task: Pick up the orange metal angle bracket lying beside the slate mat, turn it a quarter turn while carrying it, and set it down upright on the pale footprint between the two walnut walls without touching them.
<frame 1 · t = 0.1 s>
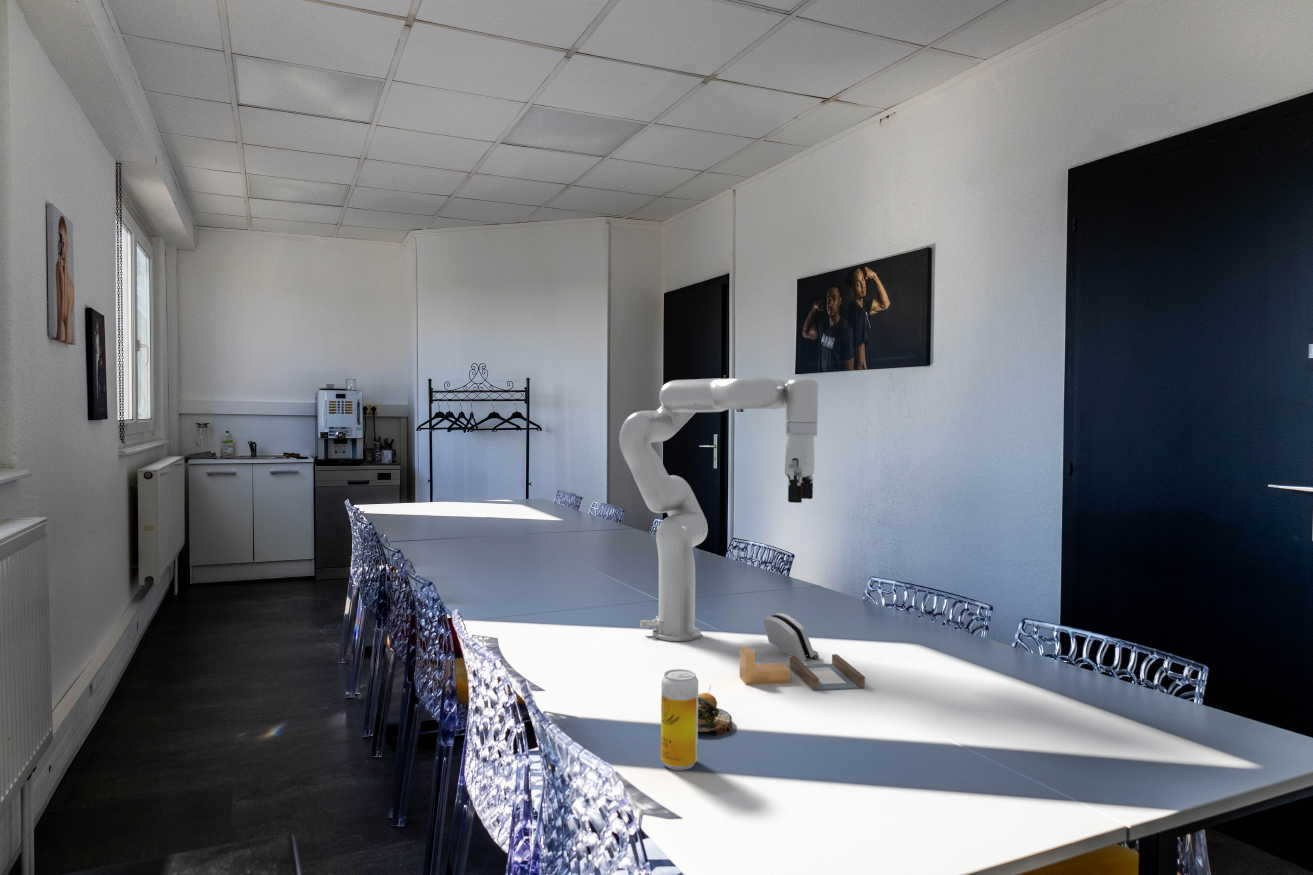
hand: (800, 500, 196), 37 cm above the table, tool pointing down, fingers open, 9 cm apart
grey slotted curved block: (788, 652, 199), on the table
bay mat: (825, 676, 179), on the table
beer can: (679, 764, 135), on the table
bracket: (764, 680, 177), on the table
burger: (700, 726, 151), on the table
bay walls: (825, 676, 179), on the table
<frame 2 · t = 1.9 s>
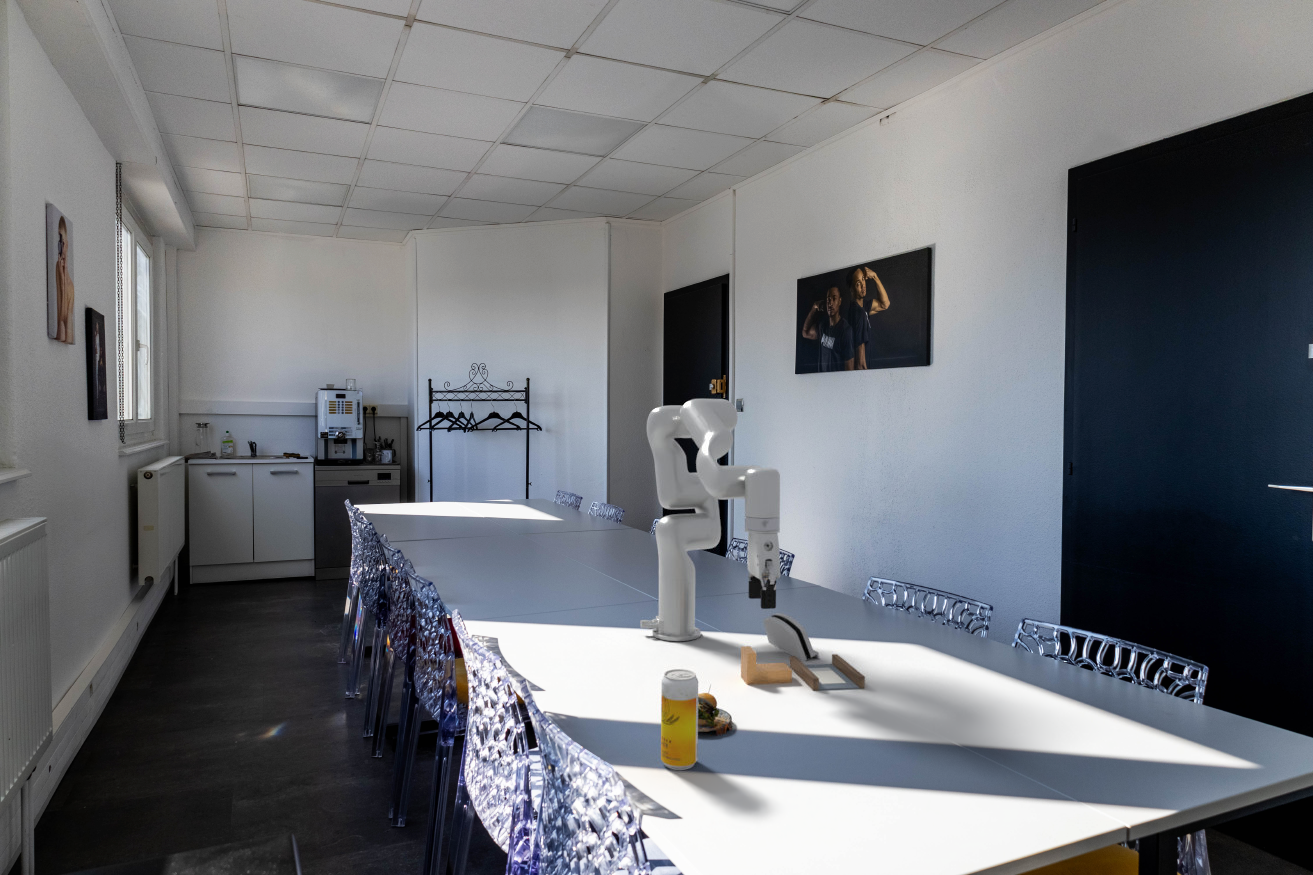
hand: (761, 603, 176), 17 cm above the table, tool pointing down, fingers open, 9 cm apart
nothing on the table moved.
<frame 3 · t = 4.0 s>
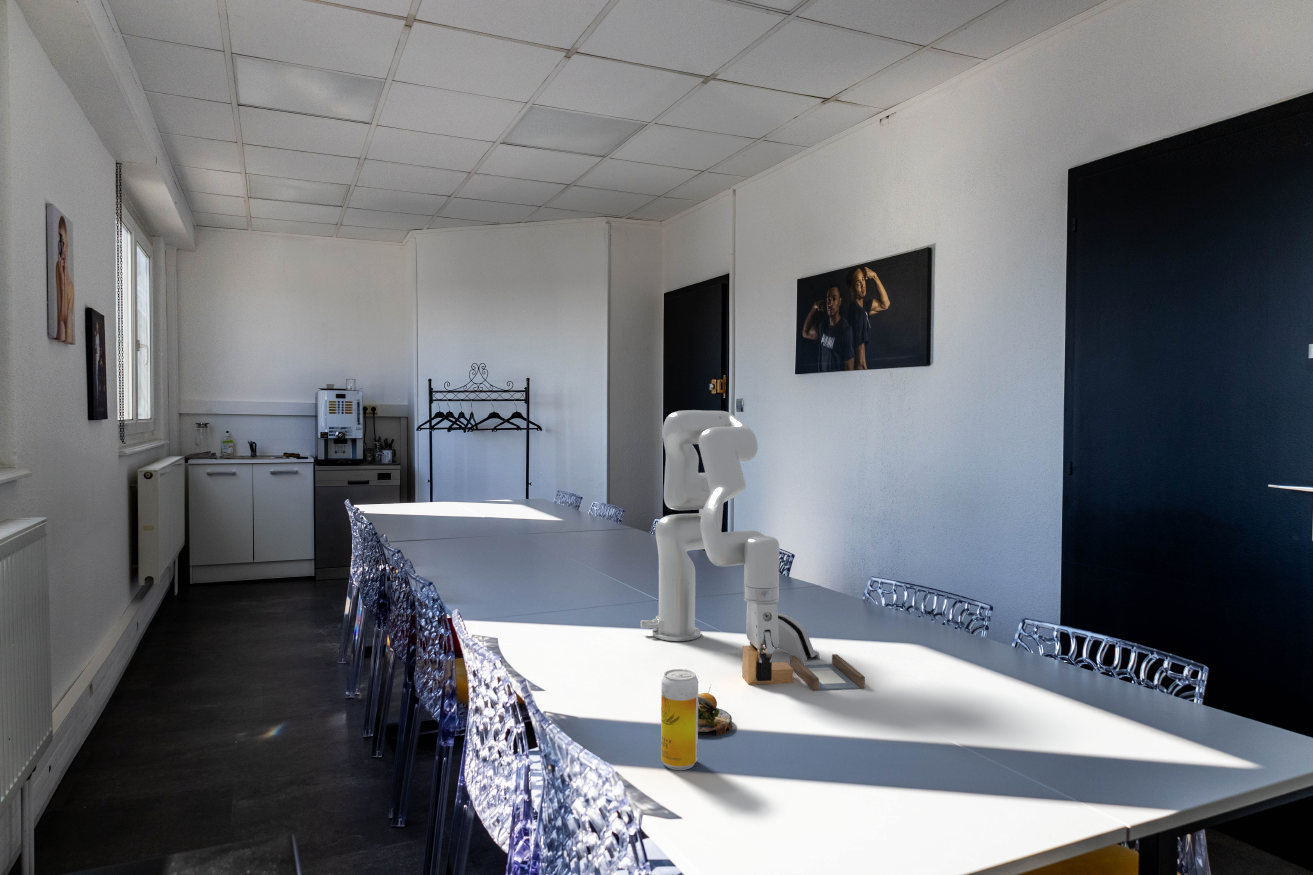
hand: (760, 675, 177), 1 cm above the table, tool pointing down, fingers closed on bracket, 5 cm apart
bracket: (767, 679, 177), on the table, touching gripper
everything else where it was.
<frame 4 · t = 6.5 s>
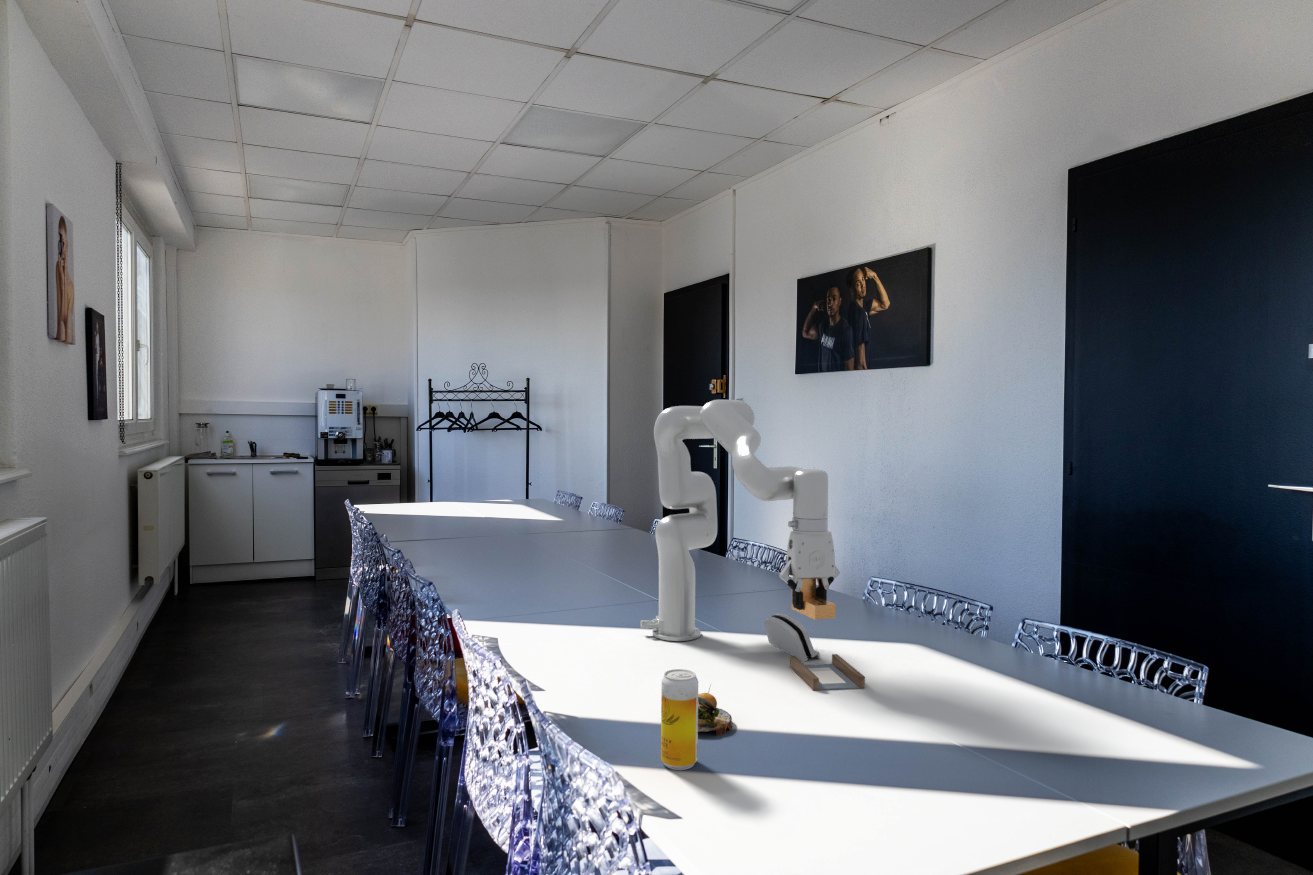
hand: (809, 606, 179), 16 cm above the table, tool pointing down, fingers closed on bracket, 5 cm apart
bracket: (813, 613, 177), point 15 cm above the table, touching gripper
everything else where it was.
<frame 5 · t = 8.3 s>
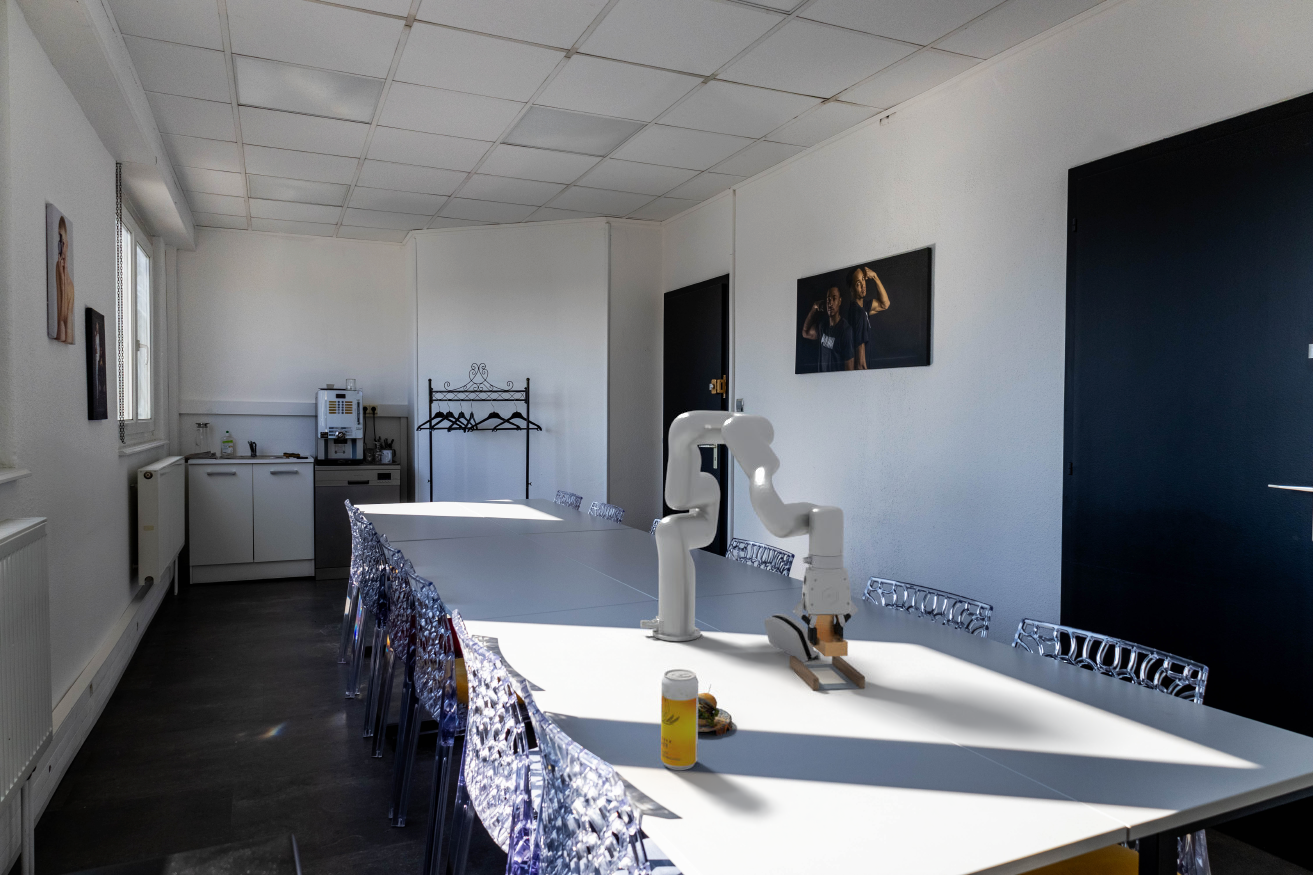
hand: (825, 642, 180), 7 cm above the table, tool pointing down, fingers closed on bracket, 5 cm apart
bracket: (828, 649, 178), point 6 cm above the table, touching gripper
everything else where it was.
when the fingers open (3 cm above the table, at t = 9.5 s): bracket drops 2 cm, resting on bay mat.
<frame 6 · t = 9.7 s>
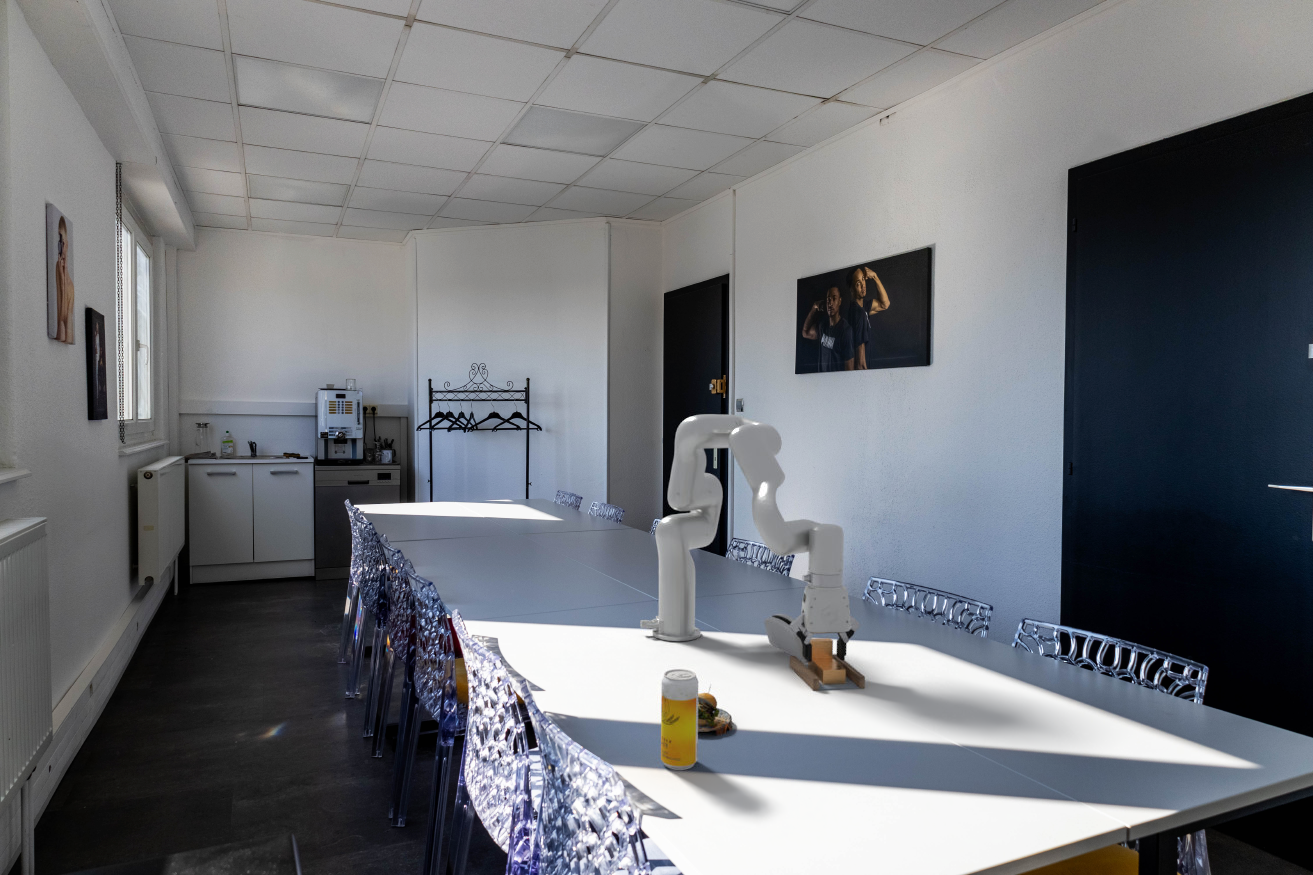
hand: (824, 658, 180), 4 cm above the table, tool pointing down, fingers open, 7 cm apart
bracket: (826, 675, 179), resting on bay mat
everything else where it was.
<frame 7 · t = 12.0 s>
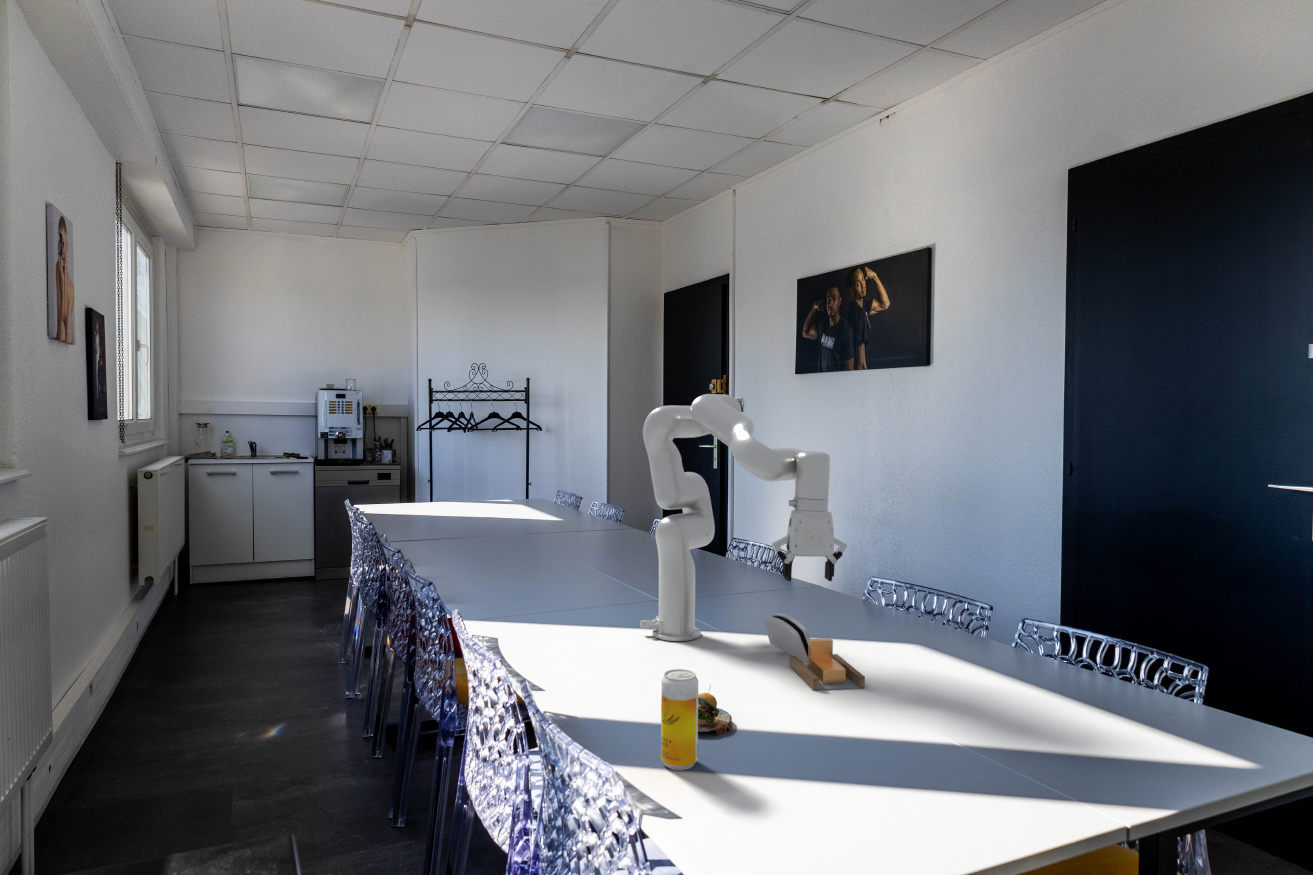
hand: (808, 579, 185), 20 cm above the table, tool pointing down, fingers open, 9 cm apart
nothing on the table moved.
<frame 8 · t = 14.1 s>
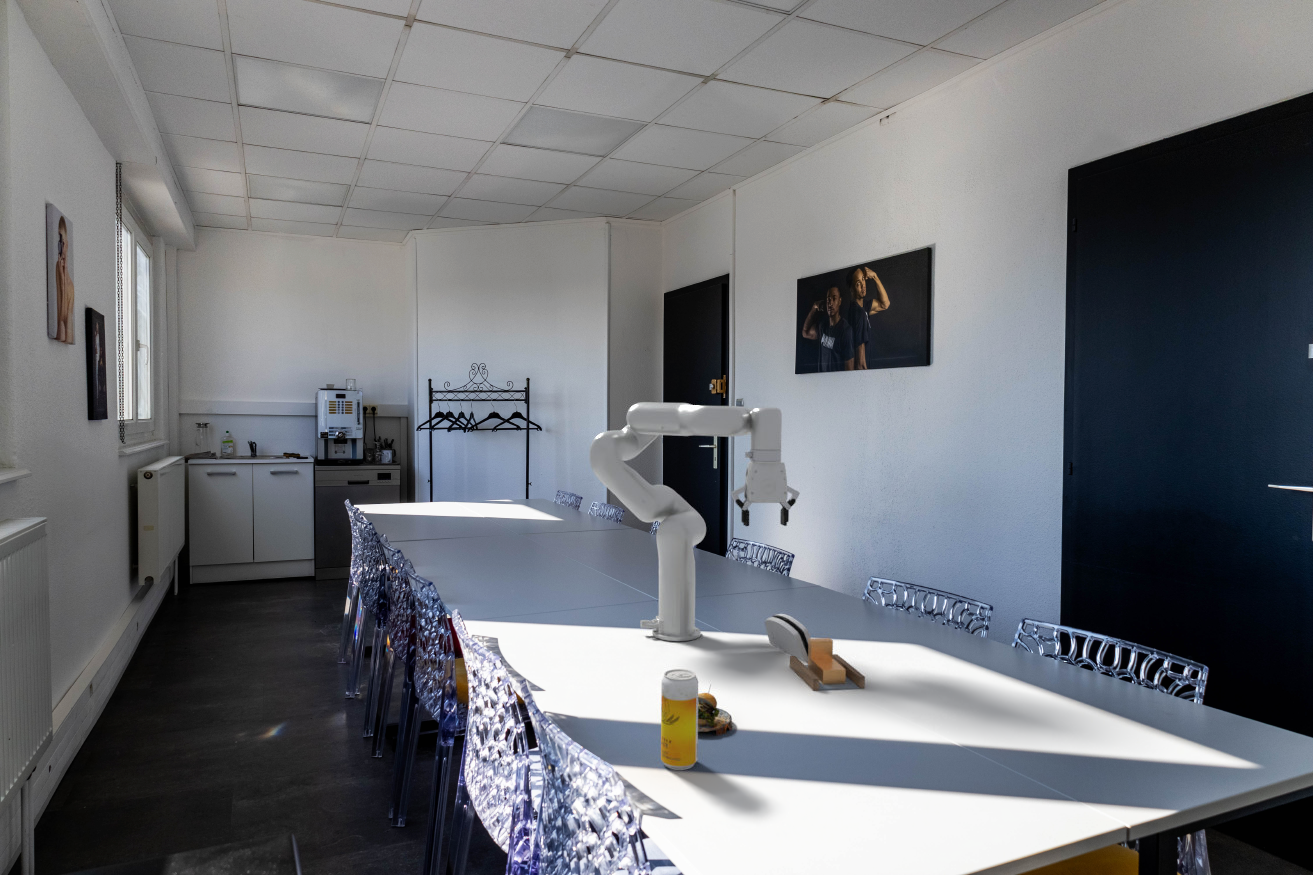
hand: (764, 525, 202), 30 cm above the table, tool pointing down, fingers open, 9 cm apart
nothing on the table moved.
at the end: bracket 0.5 cm from the target spot, resting on bay mat; bracket touching bay mat; bracket tilted 0° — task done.
